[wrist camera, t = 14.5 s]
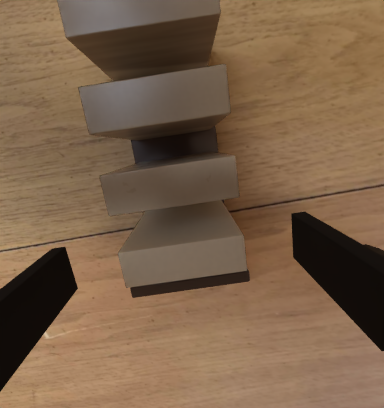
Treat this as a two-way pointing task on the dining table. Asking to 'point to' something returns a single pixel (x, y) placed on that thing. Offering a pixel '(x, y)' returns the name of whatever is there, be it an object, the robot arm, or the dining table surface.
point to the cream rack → (157, 107)
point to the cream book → (183, 245)
